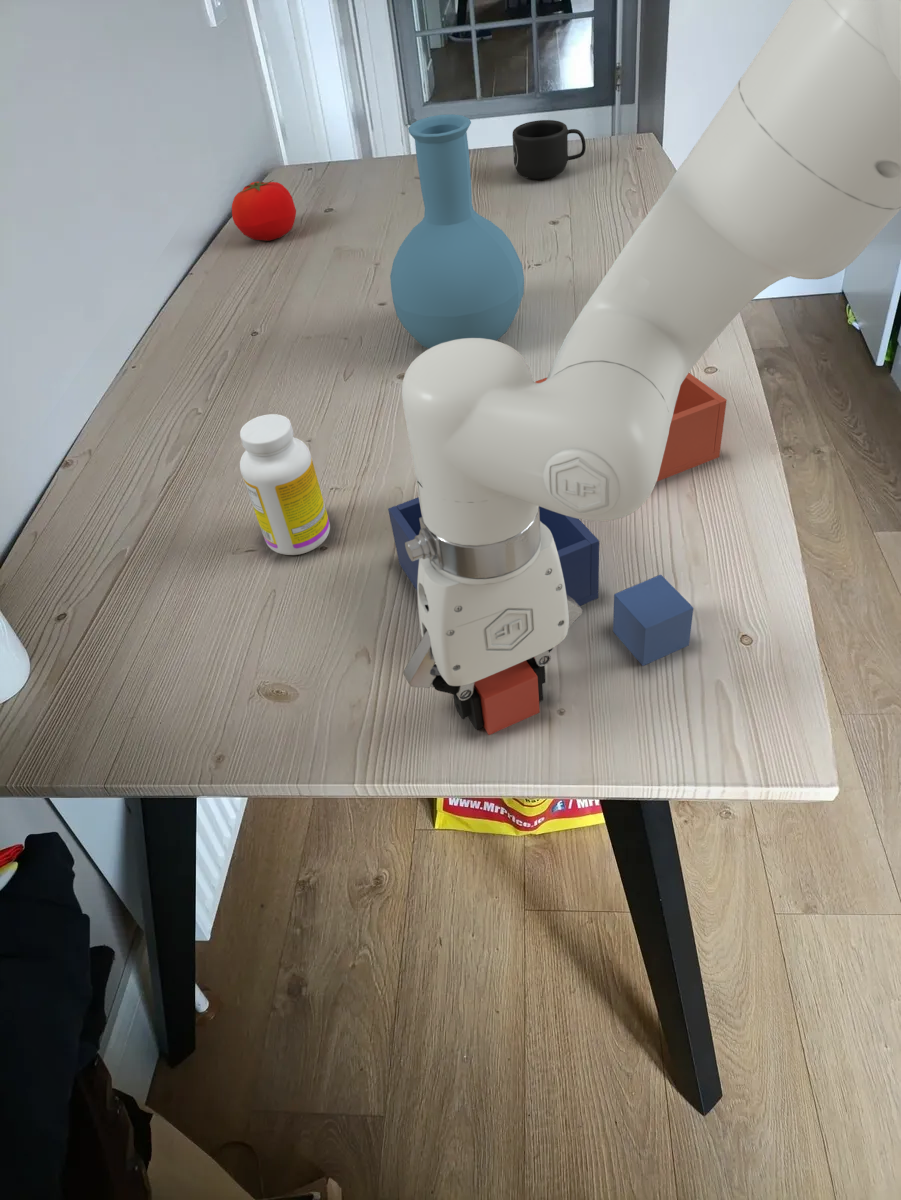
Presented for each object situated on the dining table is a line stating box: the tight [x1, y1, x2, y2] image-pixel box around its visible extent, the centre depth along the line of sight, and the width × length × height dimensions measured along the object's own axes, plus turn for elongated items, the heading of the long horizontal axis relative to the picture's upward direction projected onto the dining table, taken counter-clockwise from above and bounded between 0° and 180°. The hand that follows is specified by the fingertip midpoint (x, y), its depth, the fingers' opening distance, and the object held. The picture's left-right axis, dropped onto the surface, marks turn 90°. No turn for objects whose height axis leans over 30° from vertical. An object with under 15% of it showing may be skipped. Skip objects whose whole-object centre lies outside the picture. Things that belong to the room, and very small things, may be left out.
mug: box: [512, 119, 587, 181], centre depth 146 cm, size 12×9×7 cm
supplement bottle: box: [239, 413, 331, 556], centre depth 83 cm, size 7×7×13 cm
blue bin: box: [387, 496, 600, 607], centre depth 78 cm, size 14×14×7 cm
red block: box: [474, 661, 540, 736], centre depth 69 cm, size 4×4×4 cm
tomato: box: [231, 179, 297, 242], centre depth 140 cm, size 9×10×8 cm
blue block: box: [612, 574, 694, 667], centre depth 72 cm, size 4×4×4 cm
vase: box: [389, 113, 525, 349], centre depth 104 cm, size 16×16×25 cm
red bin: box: [534, 372, 727, 483], centre depth 90 cm, size 14×14×7 cm
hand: (501, 701), depth 70 cm, fingers closed on red block, 4 cm apart
